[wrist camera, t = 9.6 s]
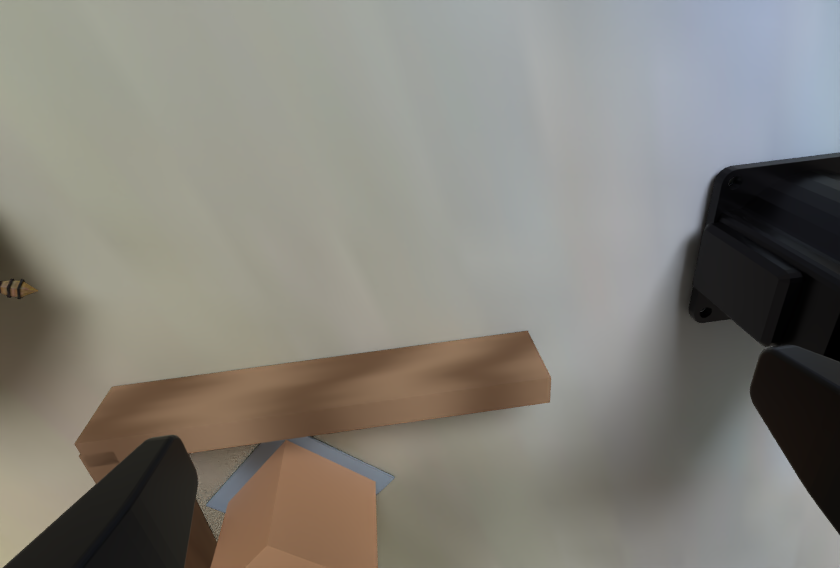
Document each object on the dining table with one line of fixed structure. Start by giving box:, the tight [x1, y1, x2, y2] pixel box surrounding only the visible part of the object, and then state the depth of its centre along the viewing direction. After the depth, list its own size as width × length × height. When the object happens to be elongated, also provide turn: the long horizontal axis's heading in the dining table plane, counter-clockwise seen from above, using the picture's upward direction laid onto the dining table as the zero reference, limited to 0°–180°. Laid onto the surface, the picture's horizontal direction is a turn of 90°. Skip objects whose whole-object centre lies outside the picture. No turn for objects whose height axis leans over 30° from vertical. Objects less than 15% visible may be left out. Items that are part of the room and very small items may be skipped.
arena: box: [75, 331, 551, 568], centre depth 24 cm, size 17×19×3 cm
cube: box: [211, 440, 378, 568], centre depth 22 cm, size 5×5×5 cm
